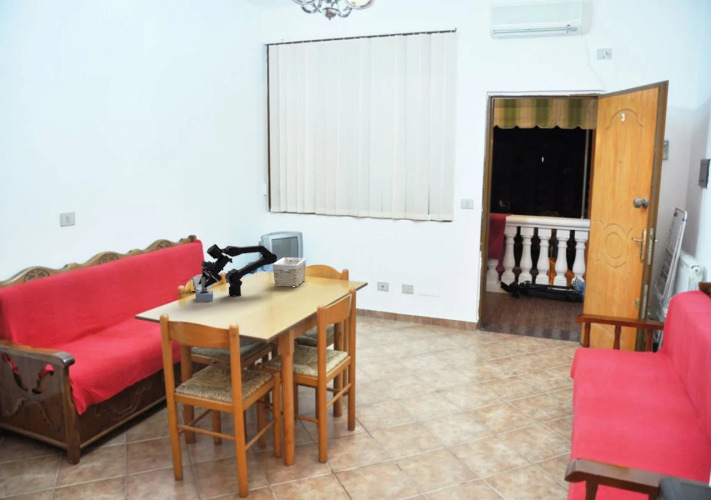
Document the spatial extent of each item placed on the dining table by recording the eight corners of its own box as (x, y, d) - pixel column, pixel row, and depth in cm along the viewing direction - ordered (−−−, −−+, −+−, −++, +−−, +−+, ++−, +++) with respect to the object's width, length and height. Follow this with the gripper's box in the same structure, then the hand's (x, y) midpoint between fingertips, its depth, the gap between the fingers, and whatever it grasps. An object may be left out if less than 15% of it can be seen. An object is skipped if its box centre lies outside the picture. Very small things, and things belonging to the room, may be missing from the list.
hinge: (199, 292, 326) (193, 276, 325) (192, 294, 327) (186, 279, 327) (213, 286, 342) (207, 271, 341) (207, 288, 343) (201, 273, 342)
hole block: (213, 297, 316) (212, 290, 315) (212, 300, 307) (212, 293, 306) (196, 297, 314) (196, 291, 313) (195, 301, 305) (195, 294, 304)
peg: (208, 299, 311) (207, 277, 309) (204, 300, 308) (204, 278, 306) (204, 298, 312) (203, 276, 310) (200, 299, 310) (199, 277, 308)
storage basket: (297, 288, 338) (296, 264, 335) (271, 287, 340) (271, 263, 338) (307, 280, 361) (306, 257, 359) (283, 279, 364) (282, 257, 361)
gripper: (204, 252, 316) (185, 274, 312) (215, 257, 301) (196, 280, 296) (218, 265, 322) (200, 285, 317) (229, 270, 306) (211, 292, 302)
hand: (201, 285), depth 308 cm, fingers open, 9 cm apart
